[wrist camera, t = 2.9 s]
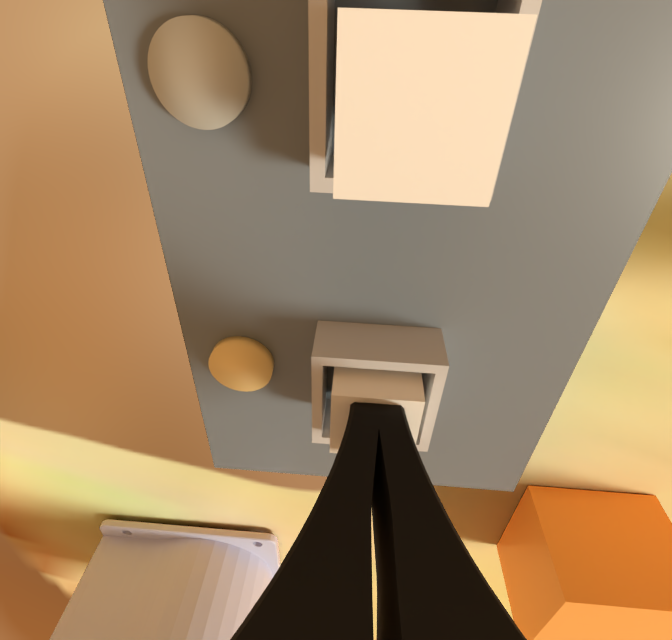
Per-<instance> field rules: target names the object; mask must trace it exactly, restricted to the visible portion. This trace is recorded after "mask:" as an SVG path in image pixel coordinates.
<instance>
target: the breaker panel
mask: <svg viewBox="0 0 672 640" xmlns="http://www.w3.org/2000/svg"><path fill="white" fill-rule="evenodd" d="M103 3H104V7H105V11H106V15H107V19H108V24H109V28H110V32H111V36H112V40H113V44H114V49H115V52H116V57H117V61H118V65H119V69H120V74H121V78H122V82H123V86H124V90H125V94H126V99H127V103H128V107H129V111H130V115H131V120H132V124H133V128H134V132H135V136H136V140H137V145H138V148H139V153H140V157H141V161H142V166H143V170H144V174H145V178H146V182H147V187H148V191H149V195H150V199H151V203H152V207H153V212H154V216H155V220H156V224H157V228H158V232H159V236H160V241H161V245H162V249H163V253H164V258H165V262H166V265H167V270H168V274H169V278H170V282H171V287H172V291H173V295H174V299H175V304H176V307H177V312H178V316H179V320H180V324H181V328H182V333H183V337H184V341H185V345H186V349H187V354H188V358H189V362H190V366H191V370H192V374H193V379H194V383H195V386H196V391H197V395H198V399H199V403H200V408H201V412H202V416H203V420H204V424H205V429H206V433H207V437H208V441H209V446H210V450H211V454H212V458H213V462H214V467H216V468H229V469H242V470H253V471H266V472H278V473H290V474H304V475H315V476H327V477H328V475H329V473H330V470H331V468H332V465H333V463H334V460H335V458H336V455H337V453H329V452H330V419H331V393H332V384H333V375H334V367H348V368H362V369H376V370H390V371H404V372H419V373H422V380H423V388H424V396H425V406H424V410H423V415H422V419H421V424H420V428H419V433H418V437H417V441H416V447H417V450H418V452H419V455H420V457H421V459H422V462H423V464H424V466H425V469H426V471H427V473H428V475H429V478H430V480H431V482H432V484H433V485H438V486H450V487H463V488H475V489H487V490H500V491H512V492H514V490H515V488H516V486H517V484H518V482H519V480H520V478H521V476H522V474H523V471H524V469H525V467H526V465H527V463H528V461H529V459H530V457H531V455H532V453H533V451H534V449H535V447H536V445H537V443H538V441H539V439H540V437H541V435H542V433H543V431H544V429H545V427H546V425H547V423H548V421H549V419H550V417H551V415H552V413H553V411H554V409H555V407H556V405H557V403H558V401H559V399H560V397H561V395H562V393H563V391H564V389H565V387H566V385H567V383H568V381H569V379H570V377H571V375H572V373H573V371H574V369H575V367H576V364H577V362H578V360H579V358H580V356H581V354H582V352H583V350H584V348H585V346H586V344H587V342H588V340H589V338H590V336H591V334H592V332H593V330H594V328H595V326H596V324H597V322H598V320H599V318H600V316H601V314H602V312H603V310H604V308H605V306H606V304H607V302H608V300H609V298H610V296H611V294H612V292H613V290H614V288H615V286H616V284H617V282H618V280H619V278H620V276H621V274H622V272H623V270H624V268H625V266H626V264H627V262H628V259H629V257H630V255H631V253H632V251H633V249H634V247H635V245H636V243H637V241H638V239H639V237H640V235H641V233H642V231H643V229H644V227H645V225H646V223H647V221H648V219H649V217H650V215H651V213H652V211H653V209H654V207H655V205H656V203H657V201H658V199H659V197H660V195H661V193H662V191H663V189H664V187H665V185H666V183H667V181H668V179H669V177H670V175H671V173H672V0H103ZM338 8H370V9H398V10H427V11H455V12H484V13H511V14H536V15H537V18H536V22H535V26H534V30H533V34H532V38H531V42H530V46H529V50H528V54H527V58H526V62H525V65H524V69H523V73H522V77H521V81H520V85H519V89H518V93H517V97H516V101H515V105H514V109H513V113H512V117H511V121H510V125H509V129H508V133H507V137H506V141H505V145H504V149H503V153H502V156H501V160H500V164H499V168H498V172H497V176H496V180H495V184H494V188H493V192H492V196H491V200H490V204H489V207H476V206H458V205H439V204H421V203H402V202H383V201H365V200H346V199H333V178H334V138H335V97H336V57H337V16H338Z"/></svg>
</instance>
